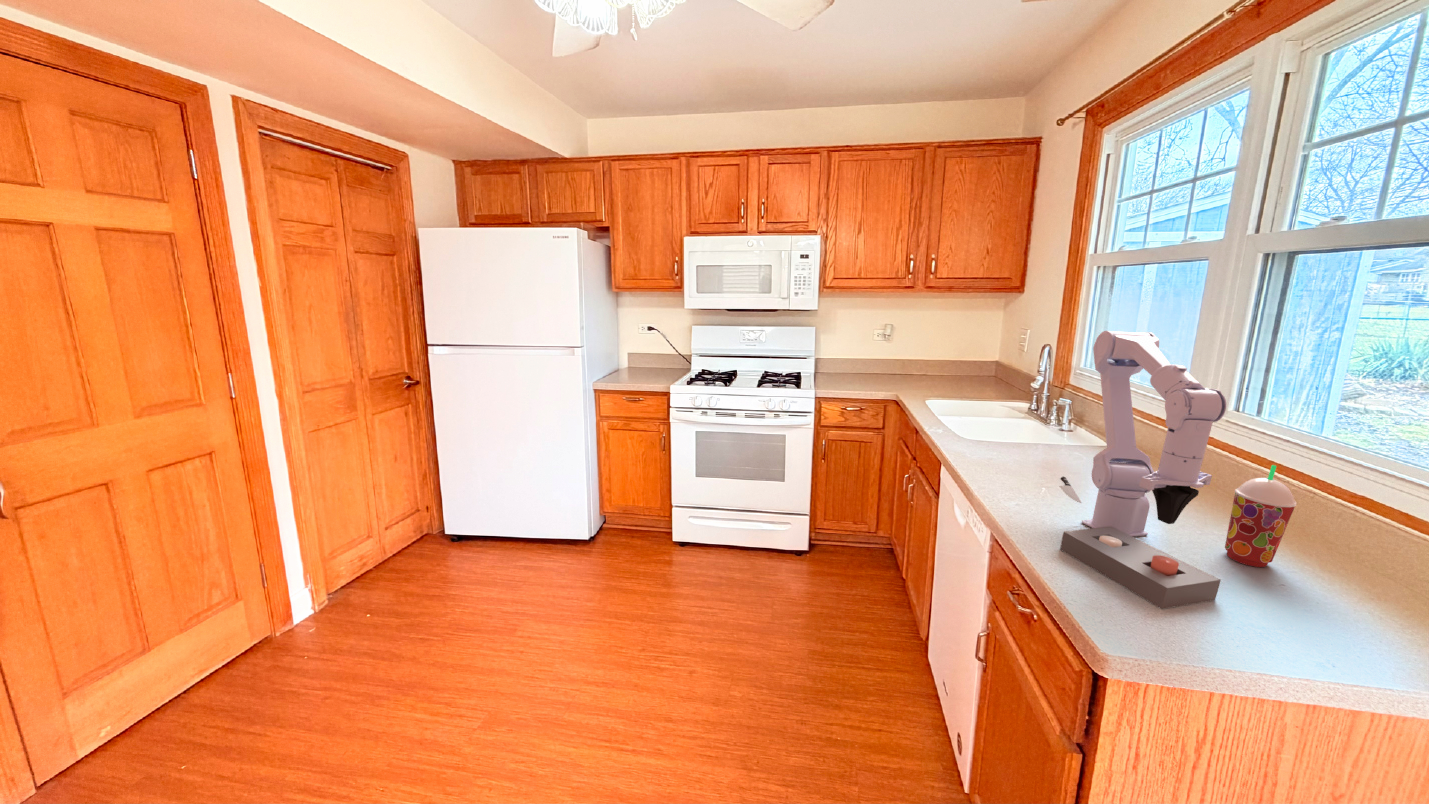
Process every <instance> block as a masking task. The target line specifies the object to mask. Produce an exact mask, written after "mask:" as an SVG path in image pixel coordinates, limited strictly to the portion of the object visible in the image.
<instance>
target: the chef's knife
mask: <svg viewBox="0 0 1429 804" xmlns="http://www.w3.org/2000/svg"><path fill="white" fill-rule="evenodd" d="M1060 480H1061V481H1062V482H1064V485H1059V488H1060V489H1061V490H1062V491H1063V492H1064V494H1065V495H1066V496H1067V495H1068V496H1067V497H1069V498H1070V499H1072V500H1073V501H1075V502H1077V503H1079V504H1083V503H1082V501H1081V499H1080V497H1079V496H1078V494H1077V493H1076V491H1075V490H1074V488H1073V487H1072V485H1071V484H1070V482H1069V481H1068V479H1067V477H1066V476H1061V477H1060Z"/></svg>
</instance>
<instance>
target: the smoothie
mask: <svg viewBox="0 0 1429 804" xmlns="http://www.w3.org/2000/svg"><path fill="white" fill-rule="evenodd" d="M1276 470H1277V465H1276V464H1272V465H1271V467H1270V470H1269V472H1268V476H1267V477H1255V478H1250V479H1249V480H1247V481H1245V482H1243V483H1242V484H1241V485H1240V486H1239V487H1237V488H1235V489H1234V496H1233V501H1232V506H1231V513H1230V517H1229V523H1228V529H1227V533H1226V538H1225V543H1224V544H1225V545H1224V549H1225V550H1226V555H1227V557H1229V558H1230V559H1231V560H1233V561H1235V562H1237V563H1240V564H1243V565H1245V566H1250V567H1255V568H1265V567H1266V566H1267V565H1268V564H1269V563H1272V562H1273V561H1274V558H1275V556H1276V553H1277V552H1278V549H1279V546H1280V543H1281V541H1282V539H1283V537H1284V533H1285V532H1286V529H1287V527H1288V524H1289V522H1290V520H1291V517H1292V515H1293V513H1294V509H1295V507H1296V506H1297V505H1298V504H1297V503H1298V502H1297V501H1296V500H1295V497H1294V495H1293V493H1292V491H1291V490H1290V488H1289V487H1288V486H1287V485H1286V484H1284V483H1283V482H1281V481H1279V480H1276V479H1274V476H1275V473H1276Z"/></svg>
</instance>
